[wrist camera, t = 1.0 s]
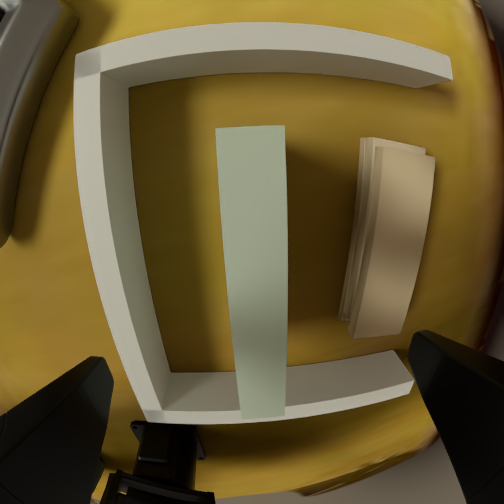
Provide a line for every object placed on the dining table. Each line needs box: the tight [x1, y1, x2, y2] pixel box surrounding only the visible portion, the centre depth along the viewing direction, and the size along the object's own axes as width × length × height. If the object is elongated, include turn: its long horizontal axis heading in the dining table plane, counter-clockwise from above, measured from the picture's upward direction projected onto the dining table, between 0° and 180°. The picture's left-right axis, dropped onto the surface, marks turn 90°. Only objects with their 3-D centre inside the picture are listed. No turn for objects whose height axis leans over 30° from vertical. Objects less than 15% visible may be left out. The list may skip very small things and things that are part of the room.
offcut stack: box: [338, 137, 435, 339], centre depth 17 cm, size 12×4×3 cm, turn 178°
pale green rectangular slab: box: [215, 126, 288, 420], centre depth 14 cm, size 12×2×8 cm, turn 3°
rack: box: [74, 22, 453, 424], centre depth 15 cm, size 23×20×4 cm
